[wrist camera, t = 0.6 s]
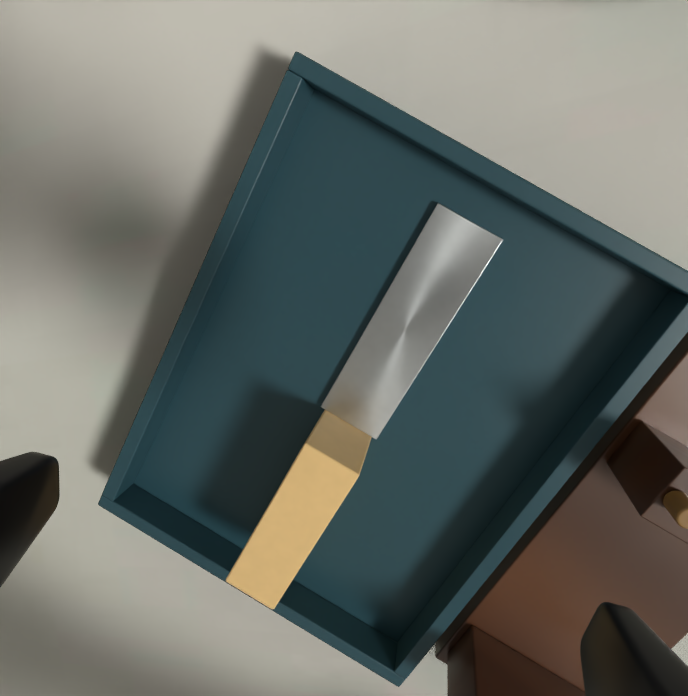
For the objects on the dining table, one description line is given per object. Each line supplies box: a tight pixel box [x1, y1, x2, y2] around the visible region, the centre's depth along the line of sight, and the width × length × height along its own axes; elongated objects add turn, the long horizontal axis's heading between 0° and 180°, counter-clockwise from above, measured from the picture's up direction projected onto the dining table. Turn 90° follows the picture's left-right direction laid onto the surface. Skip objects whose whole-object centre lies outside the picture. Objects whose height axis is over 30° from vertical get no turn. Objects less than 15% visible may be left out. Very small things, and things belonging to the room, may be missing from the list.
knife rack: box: [435, 332, 688, 696], centre depth 18 cm, size 17×7×6 cm, turn 152°
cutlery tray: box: [98, 52, 688, 687], centre depth 20 cm, size 20×15×2 cm
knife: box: [226, 203, 503, 610], centre depth 19 cm, size 16×3×3 cm, turn 152°
